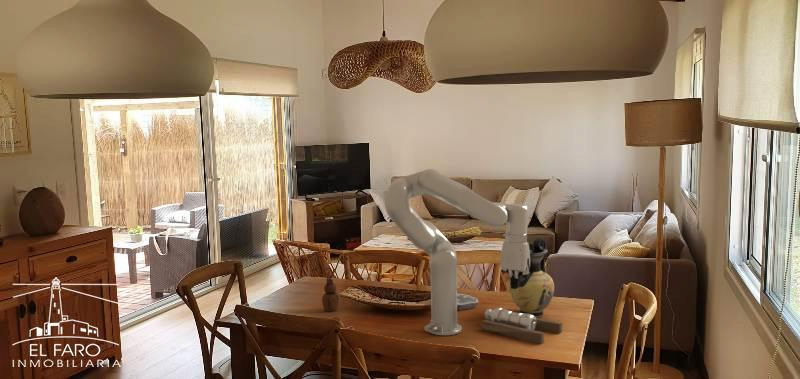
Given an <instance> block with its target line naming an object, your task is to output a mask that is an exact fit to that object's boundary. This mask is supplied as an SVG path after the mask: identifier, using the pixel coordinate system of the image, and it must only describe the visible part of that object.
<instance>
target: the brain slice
mask: <svg viewBox="0 0 800 379" xmlns="http://www.w3.org/2000/svg"><path fill="white" fill-rule="evenodd" d="M479 302H480V301H479V299H478V297H476V296H472V295H470V294H469V295H468V294H464V293H457V311H465V310H472V309H474V308H476V307H477V306H478V304H479Z"/></svg>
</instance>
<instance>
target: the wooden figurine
mask: <svg viewBox="0 0 800 379" xmlns="http://www.w3.org/2000/svg"><path fill="white" fill-rule="evenodd" d="M323 291H324V292H325V293H324V294H323V295H322V298H321V304H322V307H323V309H324V311H325V312H329V313H330V312H335V311H337V310H338V307H339V304H340V297H339V296H340V295H339V294H338V293H337V292H336V291H337V285H336V284H335V283H334V281H333V279H332V278H331V276H330V275H326V283H325V285H324V288H323Z"/></svg>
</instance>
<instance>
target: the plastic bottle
mask: <svg viewBox="0 0 800 379" xmlns="http://www.w3.org/2000/svg"><path fill="white" fill-rule="evenodd" d="M484 318H485V319H486V320H489V321H493V322H498V323H502V324H507V325H511V326H516V327H520V328H525V329H530V330H534V329H535V327H536V322H537V321H536V318H535V316H534V315H532V314H527V313H524V314H523V313H519V312H515V311H511V310H508V309H505V308H503V307H497V308H495V309H492V308H486V309H485V311H484ZM534 331H535V330H534Z"/></svg>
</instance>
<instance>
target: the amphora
mask: <svg viewBox="0 0 800 379" xmlns="http://www.w3.org/2000/svg"><path fill="white" fill-rule="evenodd" d="M527 243H528V244H529V250H530V268H529V274H526V275H522V276H521V277H520V286H519V288H517V289H511V285H510V284H509V290H510V295H511V298H512V300H513V302H514V304H515V305H516V306H517V307H518V308H519V310H520V311H519V312H518V313H523V314H524V313H527V314H532V315H534V316H535V317H536V318H541V317H543V316H544V310H545V309H547V307H548V306H549V305H550V303H551V302H552V300H553V297H554V294H555V283H554V280H553V278H552V277H551V276H550V275H549V274H548V273H547V272H546V269H545V264H546V254H548V252H549V250H548V249H547V243H546V240H545V239H544V238H543V237H537V238H535V239H534V241H533V242H531V241H527Z"/></svg>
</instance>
